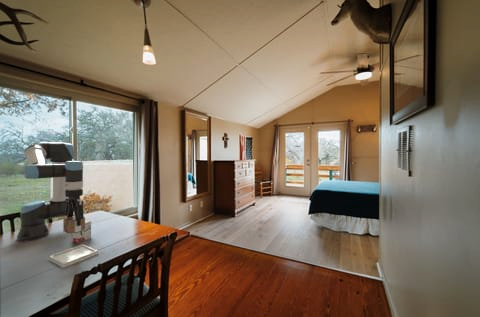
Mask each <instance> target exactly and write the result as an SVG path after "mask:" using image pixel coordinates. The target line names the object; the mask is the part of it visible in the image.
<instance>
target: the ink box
mask: <svg viewBox="0 0 480 317" xmlns="http://www.w3.org/2000/svg"><path fill="white" fill-rule="evenodd" d="M72 238H73V239H72V242H73V243H77V244H80V243H82V242H84V241H87V240H89V239H91V238H92V220H87V219H85V230H82V231H79V232H75V233H72Z"/></svg>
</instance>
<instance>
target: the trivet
mask: <svg viewBox="0 0 480 317" xmlns="http://www.w3.org/2000/svg"><path fill="white" fill-rule="evenodd" d="M98 254H99V250H98V249H96V248H93V247H90V246H88V245H86V244H84V243H83V244H82V243H81V244H80V245H76V246H74V247H71V248H68V249H65V250H62V251H60V252H57V253H53V254H51V255H49V256H48V261H50V262H52V263H53V264H56V265H57V266H58V267H61V268H63V269H64V268H67V267H69V266H72V265H74V264H77V263H79V262H81V261H83V260H84V261H85V260H86V259H89V258H91V257H94V256H96V255H98Z"/></svg>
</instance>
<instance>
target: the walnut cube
mask: <svg viewBox="0 0 480 317" xmlns="http://www.w3.org/2000/svg"><path fill="white" fill-rule="evenodd" d="M62 220H63V222H62V225H63V226H62V227H63V231H62V232H64V233H65V234H68V235H73V233H75V221H74V220H75V216H72V217H69V218H67V217H66V218H65V217H64V218H62ZM85 220H86V217H85V216H84V218H83V219H81V231H82V230H85Z"/></svg>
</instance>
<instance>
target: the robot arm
mask: <svg viewBox="0 0 480 317" xmlns="http://www.w3.org/2000/svg"><path fill="white" fill-rule="evenodd" d="M24 156H25V158H26V159H27V162H28V164H25V165H24V170H23V171H24V172H23V174H24V179H26V180H36V179H39V180H41V179H52V197H51V198H49V201H47V202H46V201H45V200H35V201H31V202H27V203H25V204H23V205H22V206H21V207H20V212H19V214H20V228H19V230H18V233H17V236H16V241H18V242H29V241H35V240H39V239H42V238H44V237H47V236H48V235H49V234H50V230H49V227H48V226H47V224H46V220H49V219H56V218H61V217H63V218H65V217H66V218H69V217H73V216H75V220H74V221H75V232H79V231H81V219H83V218H84V217H85V216H84V200H81V196H83V195H84V189H83V188H84V163H83V161H81V160H75V159H76V152H75V148H74V145H73V144H72V143H69V142H49V141H48V142H47V141H41V142H40V141H39V142H36V143H33V144H31V145H29V146H27V147H26V148H25V150H24ZM47 160H49V162H50V163H49V164H48V161H47Z"/></svg>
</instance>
